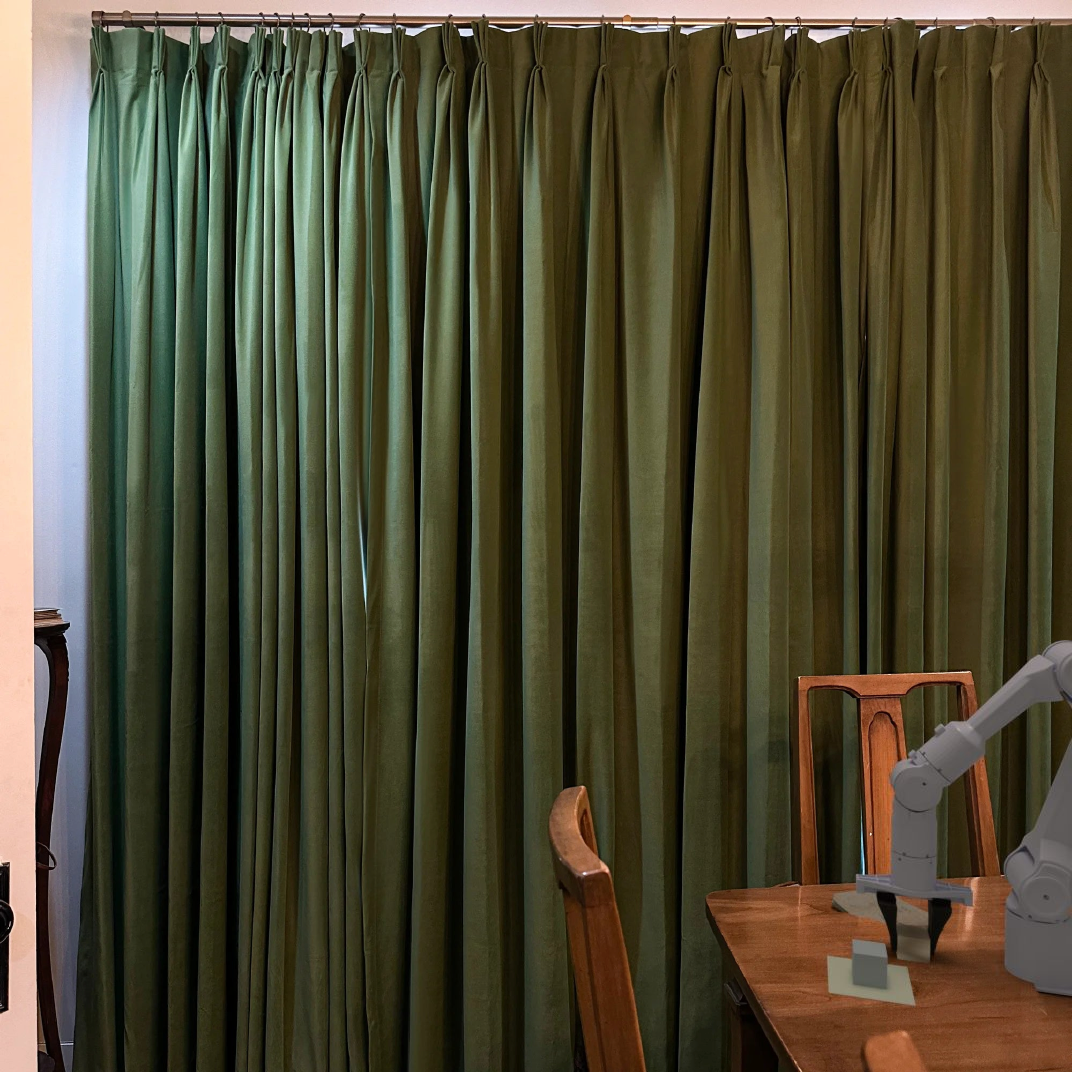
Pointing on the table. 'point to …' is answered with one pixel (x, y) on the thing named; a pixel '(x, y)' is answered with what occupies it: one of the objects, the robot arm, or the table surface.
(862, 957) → the slate cube
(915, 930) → the cream cube
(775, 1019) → the table surface
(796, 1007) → the table surface
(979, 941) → the table surface
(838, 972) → the plate
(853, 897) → the stone
